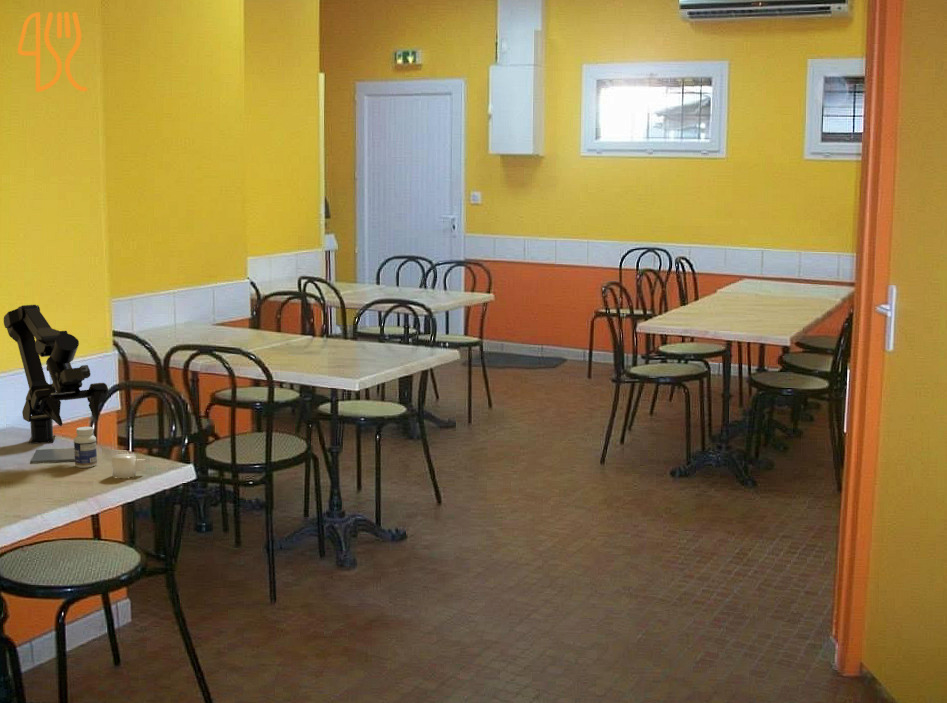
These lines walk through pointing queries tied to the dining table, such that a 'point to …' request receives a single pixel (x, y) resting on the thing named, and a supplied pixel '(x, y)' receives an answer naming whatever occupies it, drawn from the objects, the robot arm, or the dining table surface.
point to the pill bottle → (85, 448)
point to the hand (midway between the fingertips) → (79, 422)
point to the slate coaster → (53, 455)
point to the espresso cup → (126, 465)
